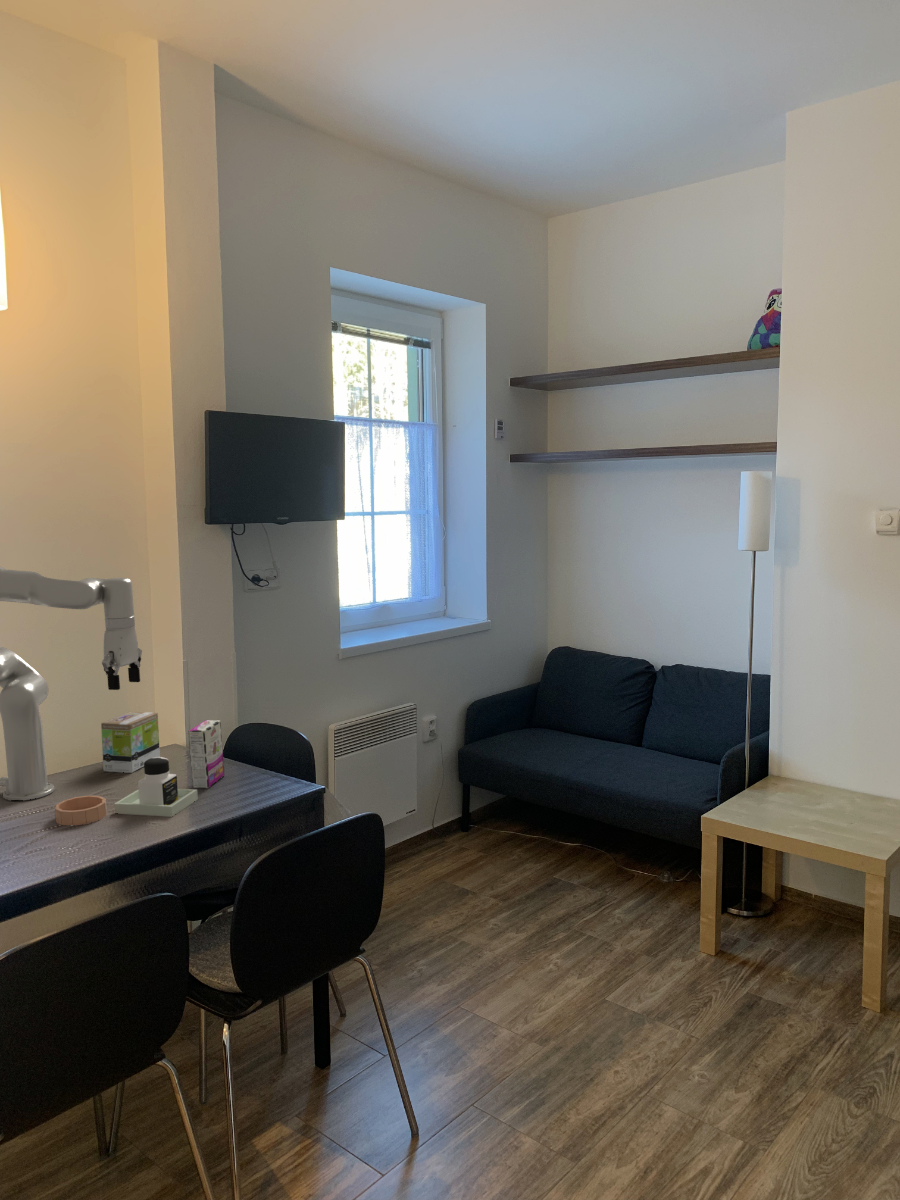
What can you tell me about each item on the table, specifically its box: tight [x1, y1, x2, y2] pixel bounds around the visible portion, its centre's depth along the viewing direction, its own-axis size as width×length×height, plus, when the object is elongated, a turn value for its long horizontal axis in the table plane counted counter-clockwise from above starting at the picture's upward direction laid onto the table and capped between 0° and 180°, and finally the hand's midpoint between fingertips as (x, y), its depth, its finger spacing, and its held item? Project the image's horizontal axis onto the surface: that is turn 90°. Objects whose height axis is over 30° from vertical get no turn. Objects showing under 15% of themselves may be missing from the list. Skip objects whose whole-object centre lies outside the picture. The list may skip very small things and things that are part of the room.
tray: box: [113, 788, 199, 818], centre depth 233 cm, size 16×13×3 cm
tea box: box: [100, 711, 161, 774], centre depth 269 cm, size 15×10×15 cm, turn 167°
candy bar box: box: [188, 719, 226, 789], centre depth 251 cm, size 11×5×16 cm, turn 171°
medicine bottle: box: [137, 756, 179, 805], centre depth 232 cm, size 7×7×12 cm
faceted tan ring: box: [54, 795, 108, 826], centre depth 227 cm, size 12×12×4 cm
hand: (124, 685), depth 247 cm, fingers open, 9 cm apart
